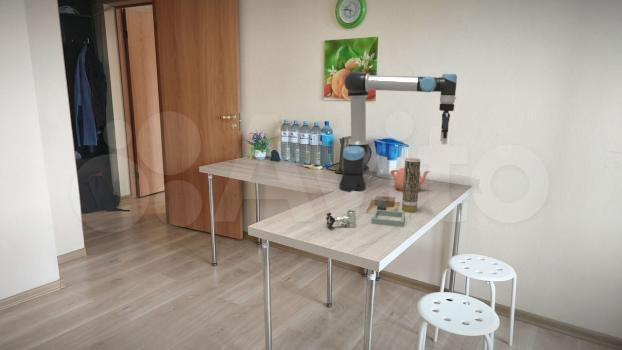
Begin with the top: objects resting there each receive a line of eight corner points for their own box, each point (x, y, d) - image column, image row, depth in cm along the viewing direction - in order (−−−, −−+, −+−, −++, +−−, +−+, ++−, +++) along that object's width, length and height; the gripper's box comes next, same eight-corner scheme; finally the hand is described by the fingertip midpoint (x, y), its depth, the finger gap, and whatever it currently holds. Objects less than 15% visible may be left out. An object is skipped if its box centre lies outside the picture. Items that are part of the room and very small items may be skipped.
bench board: (365, 214, 183) (365, 212, 183) (371, 201, 203) (371, 199, 203) (396, 217, 179) (396, 215, 179) (400, 203, 200) (400, 202, 199)
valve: (352, 223, 172) (325, 225, 168) (353, 208, 170) (326, 210, 167) (358, 228, 165) (330, 230, 162) (359, 213, 164) (331, 215, 161)
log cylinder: (417, 210, 189) (421, 158, 183) (415, 215, 183) (419, 161, 177) (402, 209, 191) (405, 157, 186) (400, 213, 185) (404, 160, 179)
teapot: (388, 187, 231) (389, 165, 228) (411, 185, 236) (412, 163, 233) (405, 195, 215) (406, 171, 212) (429, 192, 221) (431, 169, 218)
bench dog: (376, 212, 183) (377, 200, 181) (377, 210, 185) (378, 198, 184) (385, 213, 182) (386, 201, 180) (386, 211, 184) (387, 199, 183)
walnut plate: (374, 205, 194) (374, 199, 193) (376, 201, 200) (376, 195, 200) (393, 207, 191) (393, 201, 191) (394, 203, 198) (394, 197, 197)
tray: (371, 225, 169) (371, 218, 168) (375, 215, 181) (375, 209, 180) (402, 228, 165) (403, 221, 165) (404, 218, 178) (404, 212, 177)
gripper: (456, 104, 202) (452, 146, 207) (452, 102, 226) (449, 139, 230) (440, 104, 204) (436, 145, 209) (438, 102, 228) (435, 139, 232)
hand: (443, 142), depth 220 cm, fingers open, 13 cm apart
